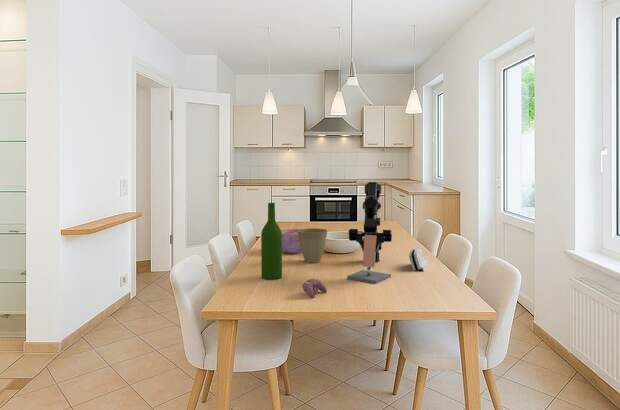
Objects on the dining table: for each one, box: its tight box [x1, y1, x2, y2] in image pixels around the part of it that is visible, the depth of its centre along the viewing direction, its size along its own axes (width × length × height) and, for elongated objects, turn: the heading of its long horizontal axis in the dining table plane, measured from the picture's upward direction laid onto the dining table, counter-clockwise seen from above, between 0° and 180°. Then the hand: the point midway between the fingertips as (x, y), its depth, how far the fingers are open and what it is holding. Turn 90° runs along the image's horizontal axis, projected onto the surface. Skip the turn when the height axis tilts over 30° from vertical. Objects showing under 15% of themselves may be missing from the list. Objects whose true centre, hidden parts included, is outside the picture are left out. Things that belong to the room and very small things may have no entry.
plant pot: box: [298, 227, 328, 264], centre depth 240 cm, size 15×15×16 cm
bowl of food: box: [281, 228, 302, 255], centre depth 265 cm, size 20×20×12 cm
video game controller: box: [302, 278, 328, 299], centre depth 183 cm, size 10×5×7 cm, turn 146°
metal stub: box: [366, 267, 373, 276], centre depth 208 cm, size 2×2×3 cm
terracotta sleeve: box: [362, 235, 377, 268], centre depth 207 cm, size 5×5×13 cm
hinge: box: [408, 248, 430, 272], centre depth 229 cm, size 17×5×10 cm, turn 159°
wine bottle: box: [260, 202, 283, 281], centre depth 207 cm, size 9×9×32 cm
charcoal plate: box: [346, 269, 392, 284], centre depth 208 cm, size 14×14×1 cm
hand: (369, 251), depth 206 cm, fingers closed on terracotta sleeve, 5 cm apart
